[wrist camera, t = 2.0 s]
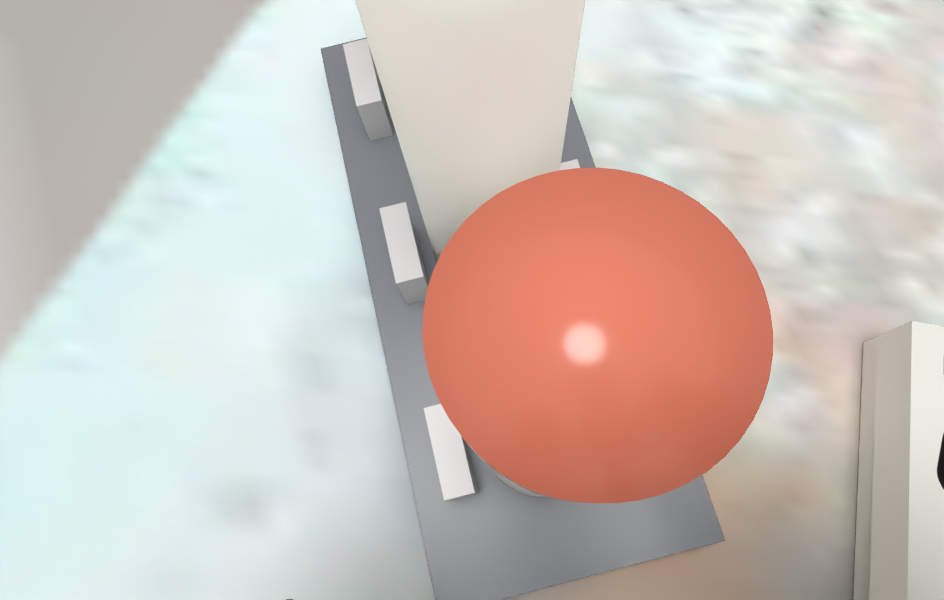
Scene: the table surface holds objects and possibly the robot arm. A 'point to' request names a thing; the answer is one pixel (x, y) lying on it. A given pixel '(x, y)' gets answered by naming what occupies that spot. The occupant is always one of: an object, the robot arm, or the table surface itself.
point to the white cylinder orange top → (597, 336)
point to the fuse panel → (503, 513)
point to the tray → (901, 467)
